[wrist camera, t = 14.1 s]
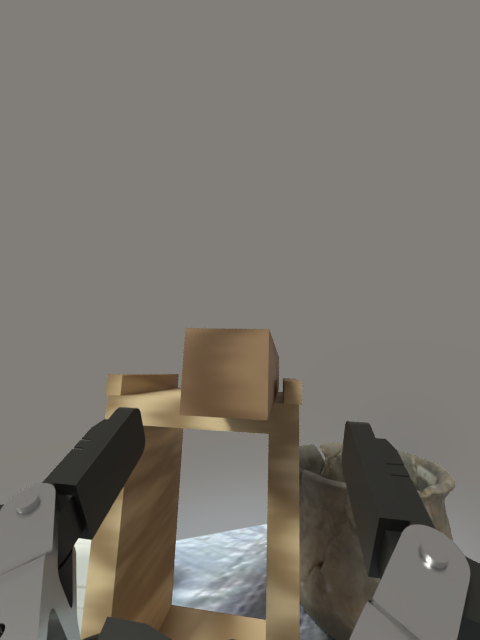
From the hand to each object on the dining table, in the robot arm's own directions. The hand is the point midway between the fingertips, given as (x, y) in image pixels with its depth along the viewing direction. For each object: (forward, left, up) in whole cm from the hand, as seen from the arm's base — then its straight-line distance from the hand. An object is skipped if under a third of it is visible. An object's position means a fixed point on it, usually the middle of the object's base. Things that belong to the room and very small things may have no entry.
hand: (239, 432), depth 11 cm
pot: (+14, +38, -32) cm, 51 cm away
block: (-1, +13, 0) cm, 13 cm away
